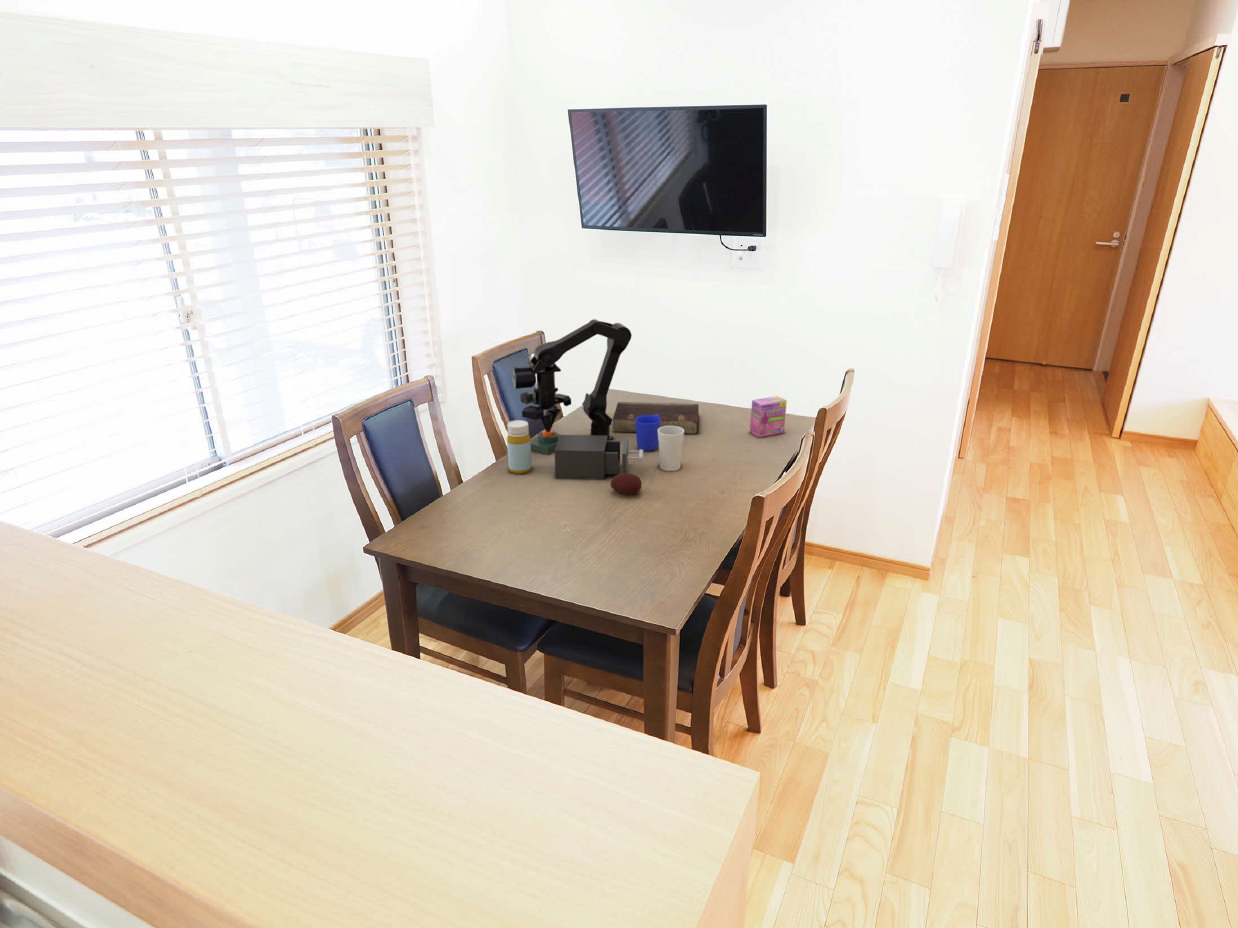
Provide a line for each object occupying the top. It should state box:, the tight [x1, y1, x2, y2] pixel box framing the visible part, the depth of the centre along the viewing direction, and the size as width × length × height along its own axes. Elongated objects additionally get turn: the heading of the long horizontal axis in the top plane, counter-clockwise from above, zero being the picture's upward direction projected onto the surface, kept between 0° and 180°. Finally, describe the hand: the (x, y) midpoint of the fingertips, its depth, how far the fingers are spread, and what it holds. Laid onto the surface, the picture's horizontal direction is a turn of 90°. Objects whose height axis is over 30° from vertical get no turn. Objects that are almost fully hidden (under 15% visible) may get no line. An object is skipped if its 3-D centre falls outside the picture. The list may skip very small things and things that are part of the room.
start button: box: [541, 429, 555, 437], centre depth 256 cm, size 4×4×2 cm
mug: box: [635, 415, 661, 452], centre depth 255 cm, size 8×12×10 cm
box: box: [749, 395, 788, 438], centre depth 265 cm, size 10×6×12 cm, turn 114°
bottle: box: [506, 419, 533, 475], centre depth 237 cm, size 7×7×15 cm
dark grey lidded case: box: [553, 434, 607, 480], centre depth 237 cm, size 15×13×9 cm
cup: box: [658, 426, 685, 472], centre depth 239 cm, size 8×8×12 cm
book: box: [612, 401, 700, 434], centre depth 275 cm, size 29×19×5 cm, turn 85°
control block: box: [531, 430, 562, 455], centre depth 257 cm, size 12×9×4 cm
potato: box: [610, 472, 643, 495], centre depth 223 cm, size 8×9×6 cm
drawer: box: [604, 438, 644, 475], centre depth 237 cm, size 18×11×7 cm, turn 86°
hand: (548, 431), depth 255 cm, fingers closed, pressing on start button
